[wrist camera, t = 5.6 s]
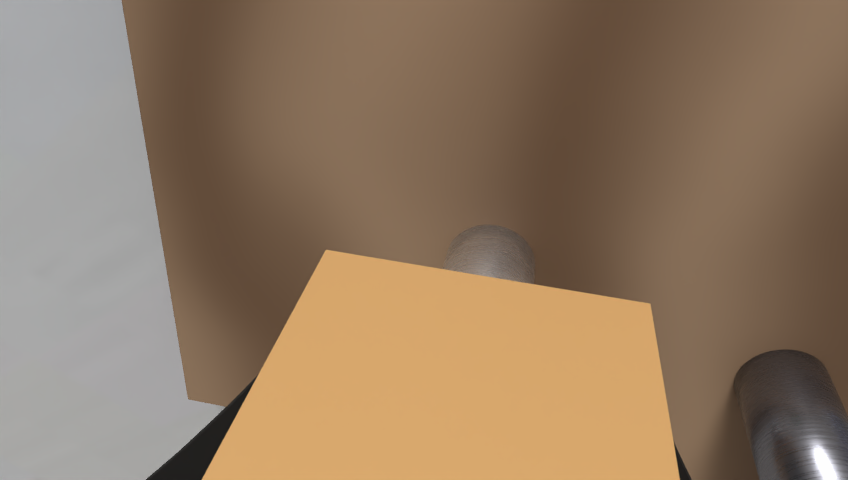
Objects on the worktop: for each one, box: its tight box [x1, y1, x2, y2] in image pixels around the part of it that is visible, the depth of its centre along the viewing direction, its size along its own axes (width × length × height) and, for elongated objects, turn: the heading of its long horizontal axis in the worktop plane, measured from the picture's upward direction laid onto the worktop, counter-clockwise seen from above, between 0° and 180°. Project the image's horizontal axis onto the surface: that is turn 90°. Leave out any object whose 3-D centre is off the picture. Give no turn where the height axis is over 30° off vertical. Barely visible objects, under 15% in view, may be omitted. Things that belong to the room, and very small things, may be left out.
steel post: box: [443, 225, 535, 284], centre depth 15 cm, size 2×2×5 cm
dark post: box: [734, 349, 848, 480], centre depth 15 cm, size 2×2×5 cm
